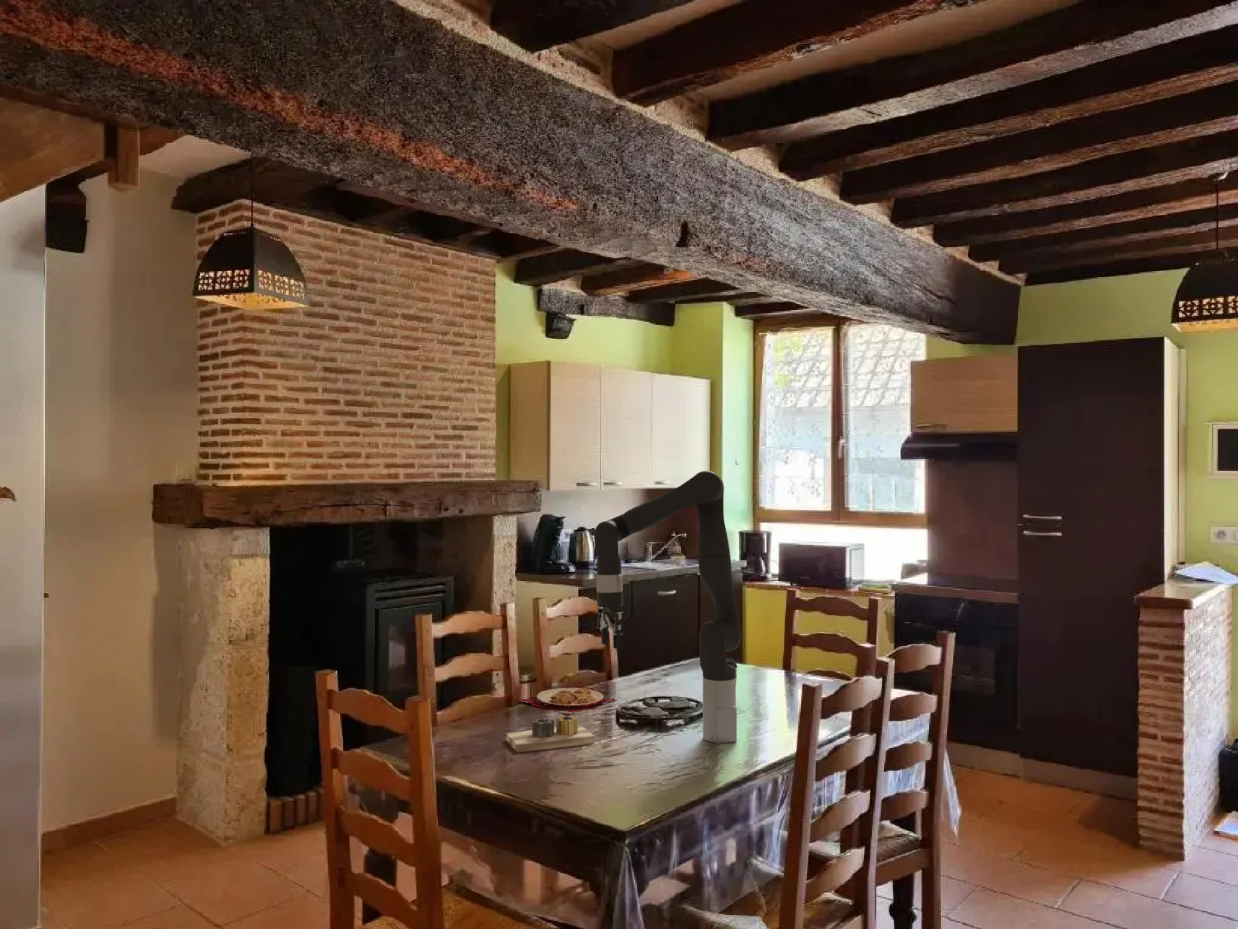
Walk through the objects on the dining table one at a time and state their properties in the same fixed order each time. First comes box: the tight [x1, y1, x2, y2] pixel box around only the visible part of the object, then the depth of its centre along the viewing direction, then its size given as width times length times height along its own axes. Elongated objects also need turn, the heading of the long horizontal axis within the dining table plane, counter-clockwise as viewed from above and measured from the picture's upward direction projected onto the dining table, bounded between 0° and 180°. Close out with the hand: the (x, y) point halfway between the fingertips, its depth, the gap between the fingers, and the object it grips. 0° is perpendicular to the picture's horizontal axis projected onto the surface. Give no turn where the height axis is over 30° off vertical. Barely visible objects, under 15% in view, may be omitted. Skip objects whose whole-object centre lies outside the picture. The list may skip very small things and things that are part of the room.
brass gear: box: [555, 715, 579, 736], centre depth 262 cm, size 6×6×4 cm
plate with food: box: [519, 680, 617, 716], centre depth 304 cm, size 24×26×4 cm
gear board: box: [505, 715, 596, 753], centre depth 260 cm, size 12×22×6 cm, turn 111°
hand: (611, 646), depth 270 cm, fingers open, 8 cm apart
